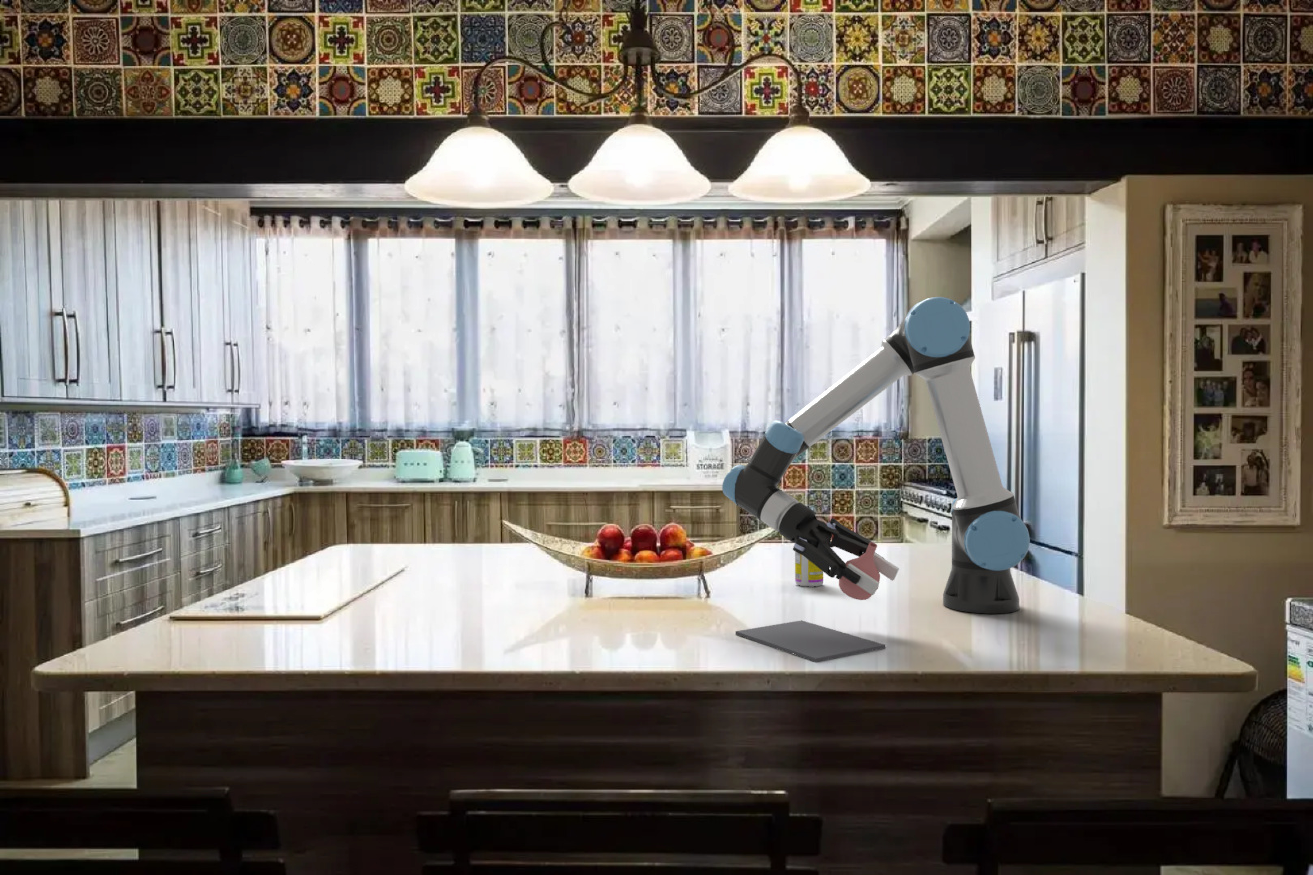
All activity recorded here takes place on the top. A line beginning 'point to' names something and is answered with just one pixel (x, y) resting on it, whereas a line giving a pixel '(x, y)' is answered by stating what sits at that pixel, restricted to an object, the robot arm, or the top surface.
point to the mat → (810, 640)
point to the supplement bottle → (807, 572)
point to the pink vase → (866, 566)
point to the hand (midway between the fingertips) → (885, 581)
